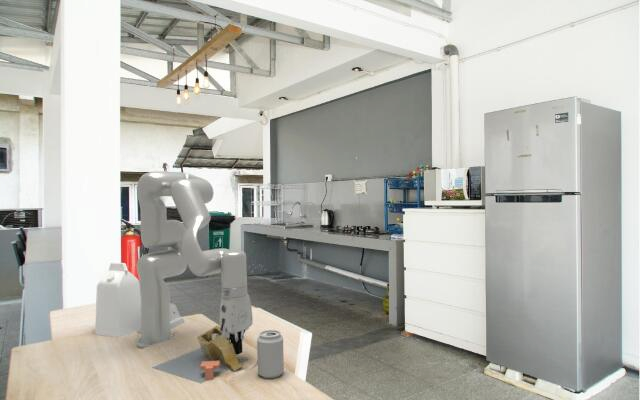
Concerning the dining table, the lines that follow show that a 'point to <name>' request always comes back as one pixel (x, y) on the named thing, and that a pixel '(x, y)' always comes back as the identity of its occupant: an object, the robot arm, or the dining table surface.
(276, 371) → the can
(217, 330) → the link
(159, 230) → the robot arm
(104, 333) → the milk
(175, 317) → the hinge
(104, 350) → the dining table surface
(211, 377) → the pink t-shaped block
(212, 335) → the cylinder
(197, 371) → the base plate
